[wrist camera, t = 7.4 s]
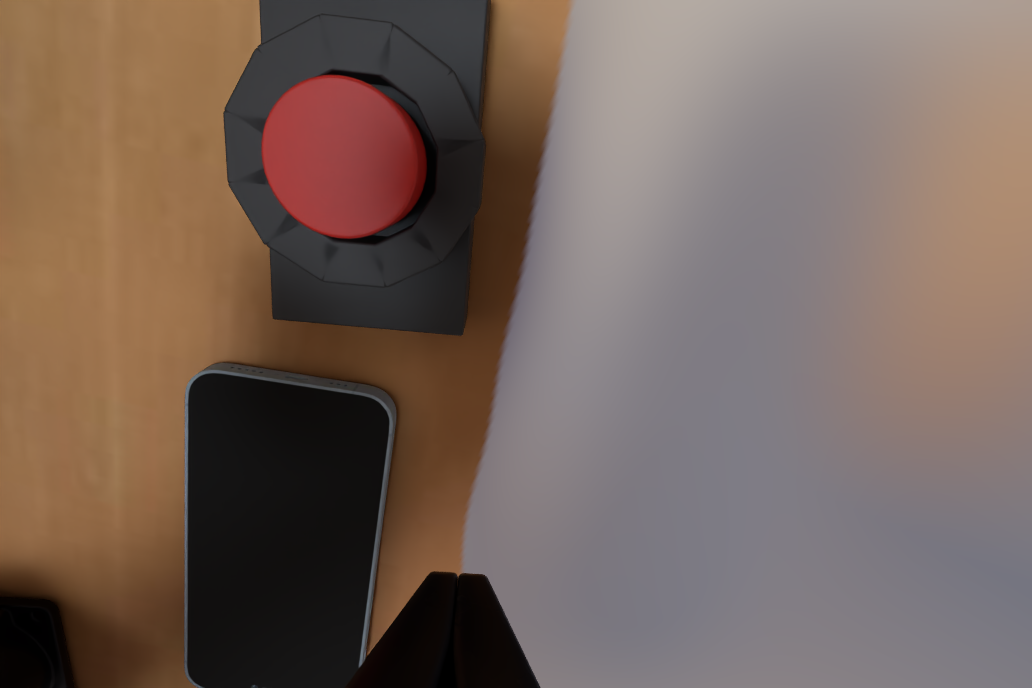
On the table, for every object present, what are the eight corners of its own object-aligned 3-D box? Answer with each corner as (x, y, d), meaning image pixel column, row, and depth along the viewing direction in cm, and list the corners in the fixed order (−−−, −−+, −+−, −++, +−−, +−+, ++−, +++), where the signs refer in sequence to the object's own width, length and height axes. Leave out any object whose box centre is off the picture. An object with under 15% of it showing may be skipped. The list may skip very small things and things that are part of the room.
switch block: (473, 319, 19) (467, 356, 15) (290, 302, 19) (236, 335, 15) (499, 1, 16) (499, -52, 12) (280, -27, 16) (209, -91, 12)
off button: (424, 237, 14) (414, 245, 13) (290, 224, 14) (263, 231, 13) (431, 94, 13) (421, 83, 12) (286, 77, 13) (255, 64, 11)
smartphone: (398, 397, 19) (357, 707, 23) (402, 388, 20) (362, 688, 24) (183, 364, 18) (183, 689, 23) (197, 356, 19) (194, 670, 23)
